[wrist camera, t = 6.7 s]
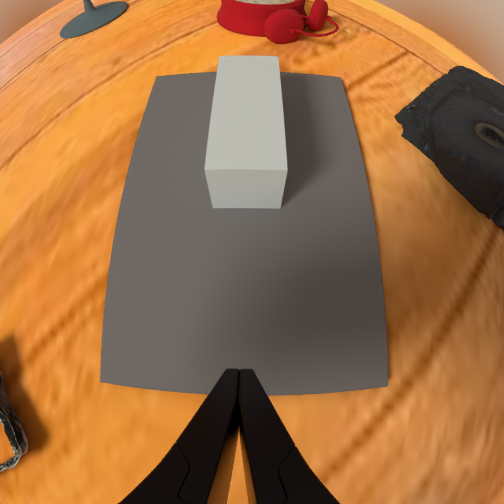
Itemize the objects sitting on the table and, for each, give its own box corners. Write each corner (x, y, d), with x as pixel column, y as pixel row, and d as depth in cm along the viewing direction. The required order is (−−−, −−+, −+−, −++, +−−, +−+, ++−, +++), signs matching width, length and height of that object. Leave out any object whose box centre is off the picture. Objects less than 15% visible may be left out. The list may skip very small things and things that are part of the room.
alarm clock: (254, -25, 27) (357, -16, 21) (260, 13, 33) (357, 32, 26) (189, -5, 25) (296, -2, 18) (202, 37, 30) (302, 59, 24)
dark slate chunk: (537, 142, 24) (556, 122, 19) (508, 256, 19) (545, 234, 14) (452, 64, 28) (465, 38, 23) (378, 129, 22) (398, 88, 18)
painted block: (287, 170, 14) (278, 56, 18) (204, 169, 14) (219, 56, 18) (280, 208, 18) (274, 96, 22) (212, 208, 18) (222, 96, 22)
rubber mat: (383, 385, 15) (387, 386, 15) (105, 381, 15) (100, 382, 15) (339, 82, 23) (340, 77, 23) (158, 81, 23) (156, 76, 23)
